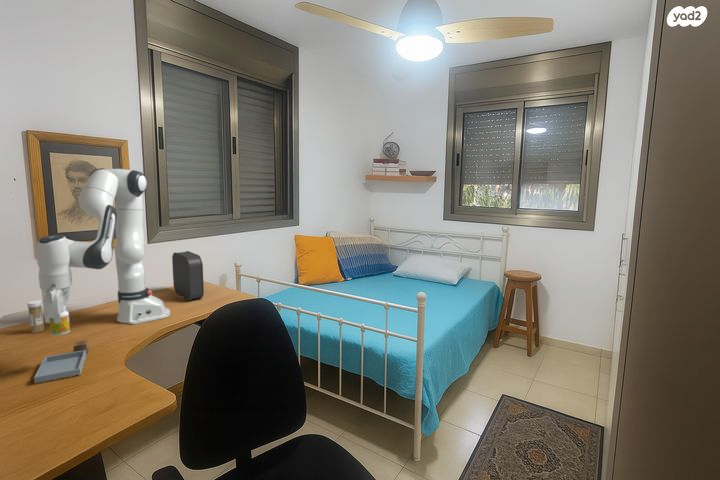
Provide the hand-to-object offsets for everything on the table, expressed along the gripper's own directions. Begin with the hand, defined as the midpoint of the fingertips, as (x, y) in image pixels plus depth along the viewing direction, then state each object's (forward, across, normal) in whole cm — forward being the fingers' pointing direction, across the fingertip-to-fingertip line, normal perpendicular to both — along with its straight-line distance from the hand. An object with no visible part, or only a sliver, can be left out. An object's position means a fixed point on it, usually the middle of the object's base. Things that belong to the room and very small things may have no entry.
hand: (59, 319), depth 131 cm
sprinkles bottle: (+18, +40, +15) cm, 46 cm away
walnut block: (+17, +8, -4) cm, 19 cm away
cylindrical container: (+18, +52, +11) cm, 56 cm away
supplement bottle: (+5, 0, 0) cm, 5 cm away
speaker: (+17, +65, -48) cm, 83 cm away
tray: (+17, -4, 0) cm, 18 cm away
